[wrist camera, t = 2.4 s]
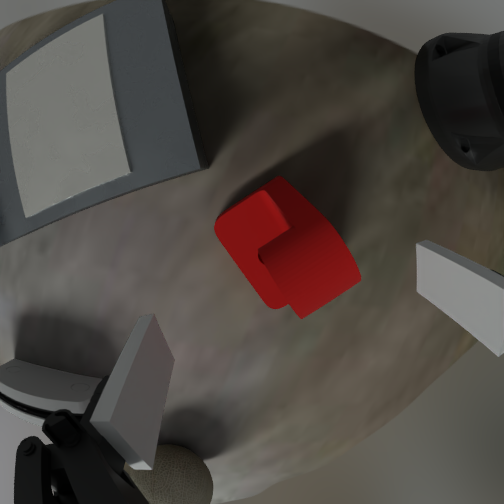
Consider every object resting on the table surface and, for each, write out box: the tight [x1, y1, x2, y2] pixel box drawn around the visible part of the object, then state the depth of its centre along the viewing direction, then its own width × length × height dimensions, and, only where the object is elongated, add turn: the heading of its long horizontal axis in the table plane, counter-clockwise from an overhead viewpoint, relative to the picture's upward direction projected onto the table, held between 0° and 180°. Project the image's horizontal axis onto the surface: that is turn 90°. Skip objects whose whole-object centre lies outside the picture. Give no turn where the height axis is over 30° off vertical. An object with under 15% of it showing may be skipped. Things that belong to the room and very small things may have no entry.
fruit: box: [130, 444, 213, 504], centre depth 24 cm, size 10×12×15 cm
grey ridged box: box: [0, 0, 209, 247], centre depth 15 cm, size 19×14×8 cm
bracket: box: [214, 176, 361, 319], centre depth 19 cm, size 9×6×10 cm
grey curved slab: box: [0, 359, 102, 427], centre depth 23 cm, size 17×5×10 cm, turn 88°
